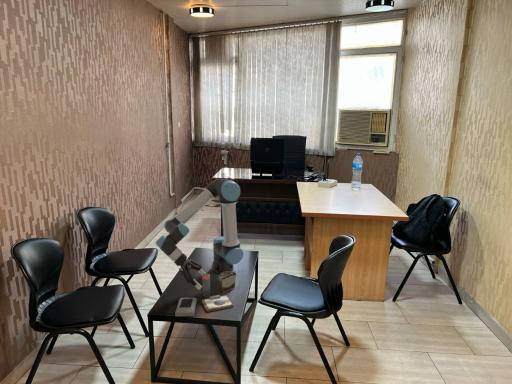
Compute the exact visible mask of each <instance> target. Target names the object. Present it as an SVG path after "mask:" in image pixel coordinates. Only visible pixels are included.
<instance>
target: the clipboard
mask: <svg viewBox="0 0 512 384" xmlns="http://www.w3.org/2000/svg"><path fill="white" fill-rule="evenodd" d="M201 303H202V305H203V308H204V309H205V311H206V313H211V312H217V311H221V310H225V309H229V308H234V304H233V302H232V301H231V299H230V297H229V296H228V295H227V294H226V295H220V294H217V295H212V296H211V295H210V297H208V298H205V299H201Z"/></svg>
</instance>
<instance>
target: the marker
mask: <svg viewBox="0 0 512 384" xmlns="http://www.w3.org/2000/svg"><path fill="white" fill-rule="evenodd" d="M201 279H202V297H203V298H209V297H211V274H210V273H207V272H205V274H203V275H201Z"/></svg>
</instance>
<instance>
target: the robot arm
mask: <svg viewBox="0 0 512 384" xmlns="http://www.w3.org/2000/svg"><path fill="white" fill-rule="evenodd" d="M203 189H204V190H203V191H202V192H201V193H200V194H199V195H198V196H197V197H196V198H194V199H193V200H192V201H191V202H190V203H189V204H188V205H186V206H185V207H184V208H183V209H181V210H180V211H179V212H178V213H177V214H176V215H175V216H174V217H173V218H172V219H167V220H166V221H165V222H164V224H163V227H164V230H165V231H166V232H167V233H168V234H162V235H161V236H160V237H159V238H158V239H157V240H156V241H155V245H156V246H157V247H158V248H159V249H160V250H161V251H162V252H163V253H164V254H165V255H166V256H167V257H168V258H169V259H170V260H171V261H172V262H173V263H174V264H175V265H176V266H177V267H179V268H178V270H179V271H180V273H181V274H182V276H183V278H184V279H185V281H186V283H187V284H190V283H191V284H192V285H193V286H194V287H195V288H196V289H197V290H198V291H200V290H201V288H202V289H203V285H201V284H200V283H199V282H198V281H197V280H196V279H195V278H194V277H193V275H192V272H191V271H190V270H191V269H193V270H195V271H197V272H198V274H199V275H201V276H202V275H203V274H205V273H206V271H204V270H203V269H202V268H203V266H202V265H201V264H200V263H198V262H197V261H195V260H193V259H192V258H191V257H188V256H187V255H186V254H185V252H184V253H183V251H182V250H181V249H180V248H179V247H178V246H177V244H179V242H181V241H182V240H183V239H184V238H185V237H186V236H187V235H188V234H189V233H190V231H191V230H190V229H189V227H188V226H187V225H186V223H188V222H189V221H190V220H191V219H192V218H193V217H194V216H195V215H196V214H198V213H199V212H200V211H201V210H202V209H203V208H205V206H206V205H208V204H209V203H210V202H211V201H212V200H216V199H217V198H218V203H219V204H220V205H221V212H222V213H221V214H222V231H223V236H217V237H215V238H214V239H213V241H212V245H213V246H212V247H213V251H212V252H213V260H212V262H211V263H212V264H211V268H210V269H211V272H212V273H214V274H217V275H220V274H221V273H222V272H225V271H234V265H237V264H239V263H241V261H242V260H243V258H244V251H243V249H242V248H241V242H240V240H239V239H238V228H237V227H238V226H237V225H238V223H237V209H236V208H237V207H236V204H238V199H239V197H240V196H241V187H240V185H239V184H238V183H237V182H235V181H234V180H230V179H226V178H224V177H219V178H216V179H214V180H212V181H211V182H210V183H209V184H207V185H206V186H205V187H204V188H203Z"/></svg>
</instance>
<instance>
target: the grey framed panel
mask: <svg viewBox="0 0 512 384" xmlns="http://www.w3.org/2000/svg"><path fill="white" fill-rule="evenodd" d="M197 301H198V299H197V297H180V298H179V300H178V303H177V306H176V309H175V313H174V314H175V315H174V316H175V317H194V315H195V313H196V312H195V311H196V306H197Z"/></svg>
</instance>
